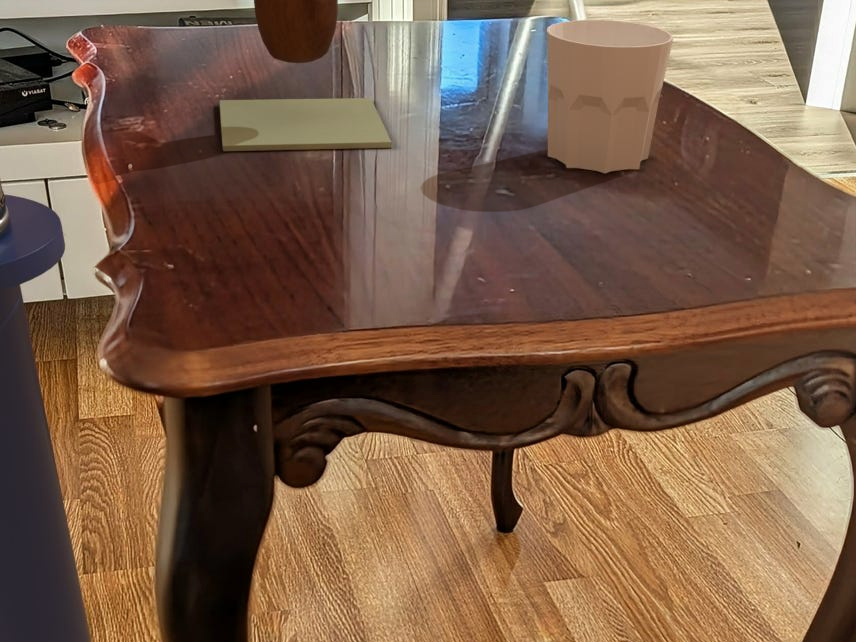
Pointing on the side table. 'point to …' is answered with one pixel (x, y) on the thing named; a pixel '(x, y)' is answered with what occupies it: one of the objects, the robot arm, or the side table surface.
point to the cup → (604, 91)
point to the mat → (301, 124)
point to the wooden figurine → (296, 28)
